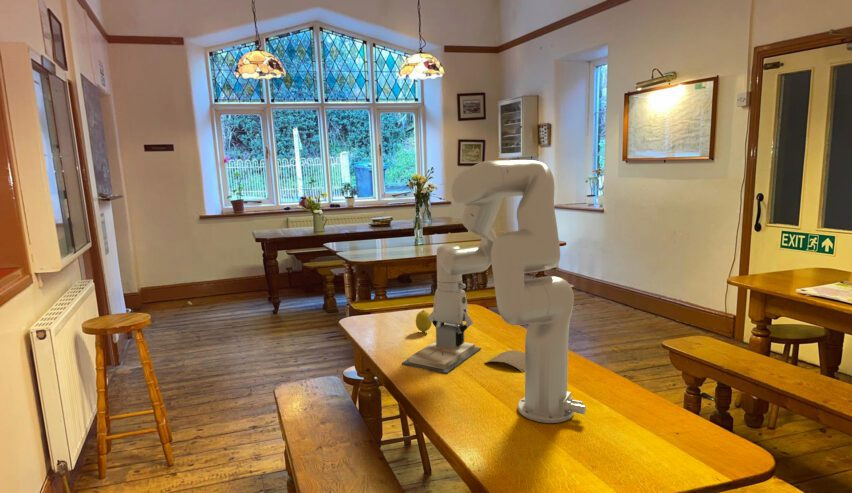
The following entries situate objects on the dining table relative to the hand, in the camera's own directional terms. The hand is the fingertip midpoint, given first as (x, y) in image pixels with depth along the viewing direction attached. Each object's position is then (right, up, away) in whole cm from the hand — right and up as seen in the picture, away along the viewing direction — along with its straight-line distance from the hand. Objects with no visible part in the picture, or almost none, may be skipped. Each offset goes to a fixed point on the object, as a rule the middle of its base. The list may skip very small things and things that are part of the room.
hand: (450, 342), depth 159 cm
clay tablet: (+17, -5, -10) cm, 20 cm away
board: (-3, -4, -4) cm, 6 cm away
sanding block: (0, -1, 0) cm, 1 cm away
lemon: (-8, 0, +19) cm, 21 cm away
